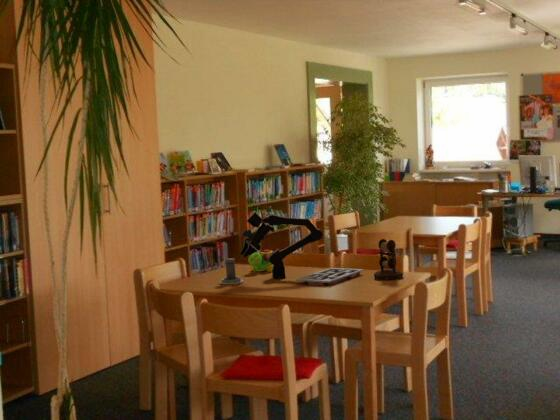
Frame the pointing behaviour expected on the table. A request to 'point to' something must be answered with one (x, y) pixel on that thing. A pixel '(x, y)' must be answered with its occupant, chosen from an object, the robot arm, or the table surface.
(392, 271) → the dark figurine on base
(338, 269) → the maze game
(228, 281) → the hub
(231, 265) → the knob
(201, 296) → the table surface
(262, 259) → the turtle toy
